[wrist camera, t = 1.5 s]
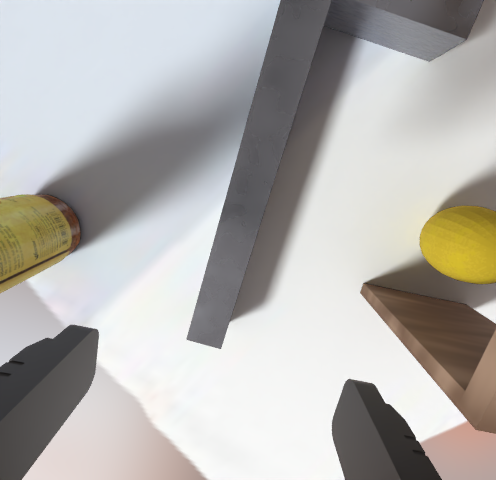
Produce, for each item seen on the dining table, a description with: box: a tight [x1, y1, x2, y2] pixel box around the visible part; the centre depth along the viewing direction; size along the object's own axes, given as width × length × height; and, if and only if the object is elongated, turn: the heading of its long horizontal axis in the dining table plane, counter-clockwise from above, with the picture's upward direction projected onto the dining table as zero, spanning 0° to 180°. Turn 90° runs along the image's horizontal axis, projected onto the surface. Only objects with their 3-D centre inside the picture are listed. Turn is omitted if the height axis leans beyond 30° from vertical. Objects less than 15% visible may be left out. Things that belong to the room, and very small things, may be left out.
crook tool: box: [186, 0, 484, 349], centre depth 22 cm, size 12×29×4 cm, turn 163°
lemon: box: [420, 206, 496, 284], centre depth 21 cm, size 6×6×8 cm
